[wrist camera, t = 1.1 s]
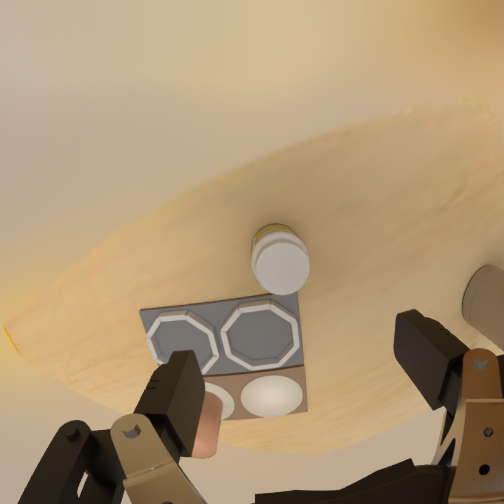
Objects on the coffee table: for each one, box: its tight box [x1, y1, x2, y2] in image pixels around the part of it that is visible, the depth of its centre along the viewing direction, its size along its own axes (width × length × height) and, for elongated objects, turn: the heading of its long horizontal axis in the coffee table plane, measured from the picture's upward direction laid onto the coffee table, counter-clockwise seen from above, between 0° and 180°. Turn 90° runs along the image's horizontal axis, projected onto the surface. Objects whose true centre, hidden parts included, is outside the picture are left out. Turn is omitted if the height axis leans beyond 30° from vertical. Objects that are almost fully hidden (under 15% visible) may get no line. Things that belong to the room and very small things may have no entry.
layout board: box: [139, 291, 308, 459], centre depth 27 cm, size 18×19×9 cm
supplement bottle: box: [251, 224, 310, 295], centre depth 23 cm, size 5×5×8 cm
